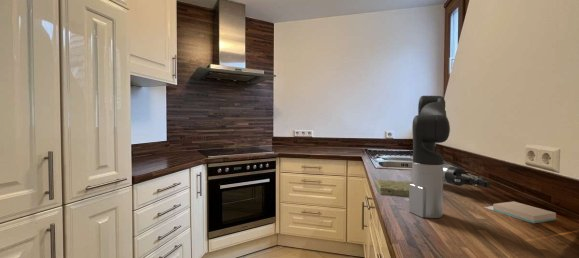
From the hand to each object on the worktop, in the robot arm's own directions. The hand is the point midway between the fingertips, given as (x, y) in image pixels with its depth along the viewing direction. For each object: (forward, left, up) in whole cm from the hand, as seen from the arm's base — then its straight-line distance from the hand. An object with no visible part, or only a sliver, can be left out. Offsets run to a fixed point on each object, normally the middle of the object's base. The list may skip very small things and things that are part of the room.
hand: (488, 184), depth 98 cm
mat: (-1, -10, -7) cm, 12 cm away
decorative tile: (-19, +25, -8) cm, 32 cm away
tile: (-1, -6, -6) cm, 8 cm away
